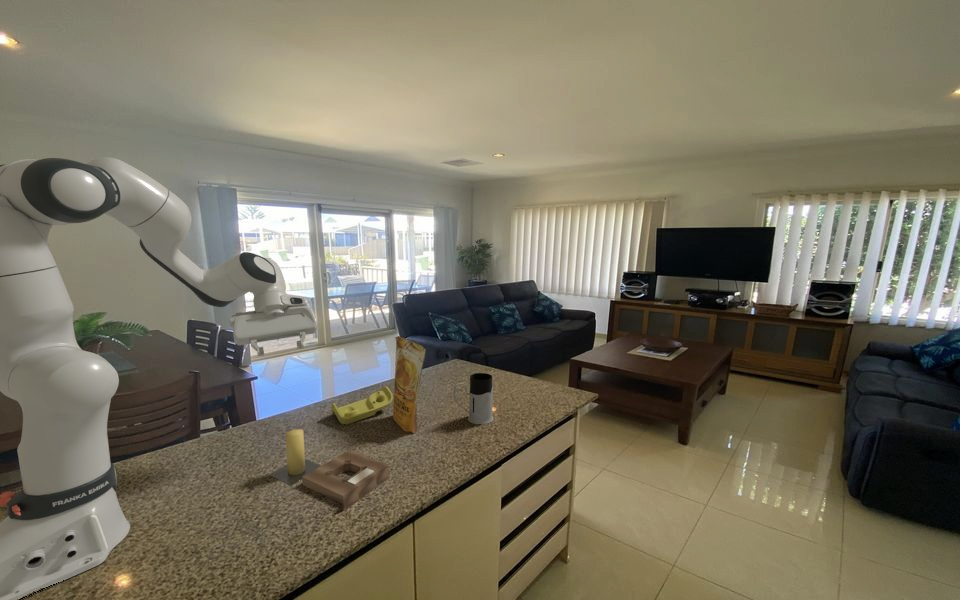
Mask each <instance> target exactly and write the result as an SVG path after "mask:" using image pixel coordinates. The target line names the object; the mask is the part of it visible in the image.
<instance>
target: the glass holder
mask: <svg viewBox="0 0 960 600" xmlns="http://www.w3.org/2000/svg"><path fill="white" fill-rule="evenodd" d="M460 385H462V386H464V390H465V391H464V393H465V394H466V395H468V396H469V399H468V400H469V403H468V404H469V407H468V409H469V410H468V409H466V408H464V406H462V405H461V404H460V403H459V401H458V400H457V397H456V390H457V387H458V386H460ZM493 387H494V386H493V375H491V374H489V373H485V372H477V373H472V374H470V376H469V390H468V389H467V385H466V384H465V383H463V382H459V383H457V384H455V386H454V388H453V397H454V400H455V402H456V404H457V405H458V407H460V408H461V409H462V410H464V411H465V412H467V413H468V417H467V420H468V422H469V423H471V424H473V425H478V424H484V425H488V423H489V424H491V423H493V422H494V416H493V391H494V390H493ZM467 390H468V391H469V393H468V391H467ZM490 422H491V423H490Z"/></svg>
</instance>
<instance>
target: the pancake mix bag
mask: <svg viewBox="0 0 960 600" xmlns="http://www.w3.org/2000/svg"><path fill="white" fill-rule="evenodd" d="M394 338H395V363H394V364H395V369H394V388H393V389H394V390H393V391H394V393H393V408H392V419H393V420H394V422H395V423H396V424H397V425H398V426H399V427H400V428H401V429H402V430H403V432H405V433H412V434H415V433H416V432H417V431H418V422H417V420H418V419H417V418H418V417H417V409H418V408H417V402H418V401H417V400H418V393H419V387H420V383H421V379H422V378H421V376H422V373H423V372H422V371H423V367H424V363H425V359H426V351H427V350H426V348H425V346H423V345H422V344H419V343H418V342H414V341H412V340H411V339H408V338H406V337H402V336H400V335H397V336H396V337H394Z"/></svg>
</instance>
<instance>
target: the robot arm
mask: <svg viewBox="0 0 960 600" xmlns="http://www.w3.org/2000/svg"><path fill="white" fill-rule="evenodd" d="M103 215H106V216H109V217H111V218H113V219H114V220H117V221H118V222H119V223H121V224H122V225H124V226H126V227H127V228H128V229H130V230H131V231H133V232H134V233H135V234H136V236H138V238H139V246H140V248H141V250H142V251H143V252H144V253H145V255H147V256H148V257H149V258H150V259H151V260H152V261H153V262H155V263H156V264H157V265H159V266H160V267H161V268H162V269H163V270H165V271H166V272H168V274H170V275H171V276H173V277H174V278H175V279H177V280H178V281H179V282H180V283H182V284H183V285H185V286H186V287H187V288H188V289H190V290H191V292H193V293H194V295H195V296H196V297H197V298H198V299H199V300H200V301H202V302H203V304H206V305H208V306H212V307H216V308H224V307H227V306H228V305H229V304H231V303H233V302H234V301H235V300H237V299H238V298H240V297H243V296H244V295H245V294H248V293H251V294H252V295H253V299H252V301H253V302H252V303H253V307H254V310H249V311H245V312H236V313H235V314H233V315H232V316H230V318H229V324H230V327H231V328H233V329H232V330H233V331H232V335H233V342H234V344H235V345H237V346H244V345H250V346H251V348H252V349H253V350H255V351H256V353H257V354H256V355H257V357H262V356H265V351H264V347H263V346H259V345H258V343H263V342H269V341H270V342H271V341H275V340H281V339H282V340H283V339H287V338H294V337H299V340H297V341H296V348H297V350H301V349H304V347H305V346H304V341H305V340H306V336H307V335H311V334H312V335H313V334H316V332H317V331H318V321H317V318H316V316H315V314H314V311H313V309H311V307H310V306H308V301H307V299H306V298H305V297H300V296H299V297H298V296H297V297H296V296H290V295H288V294H287V291H286V288H287V285H286V281H285V278H284V275H283V272H282V270H281V268H280V265H279V264H278V263H277V261H275V260H274V259H271V258H268V257H263V256H261V255H258V254H256V253H253V252H248V251H244V252H241V253H239V254H236V255H235V256H233V257H231V258H230V259H227V260H226V261H224V262H222V263H221V264H218V265H217V266H215V267H213V268H209V269H202V268H200V267H199V266H198V265H197V264H196V263H195V262H194V261H192V260H191V259H190V258H189V257H188V256H187V255H185V254H184V253H183V252H182V251H181V250H180V247H181V245H182V243H183V242H184V241H185V239H186V238H187V236H188V235H189V232H190V230H191V227H192V222H193V221H192V220H193V217H192V212H191V210H190V208H189V207H188V205H187V204H186V203H185V202H184V201H183V200H182V199H181V198H180V197H179V196H177V195H176V194H175V193H174V192H172V191H171V190H170V189H168V188H167V187H166V186H164V184H161V183H160V182H159V181H157V180H156V179H155V178H152V177H151V176H149V175H147V174H146V173H145V172H143V171H142V170H140V169H138V168H136V167H135V166H132V165H131V164H129V163H127V162H126V161H123V160H122V159H119V158H116V157H110V156H103V157H99V158H95V159H92V160H91V161H89V162H86V163H84V162H79V161H77V160H72V159H69V158H68V159H67V158H60V157H47V158H42V159H40V158H39V159H36V158H35V159H33V158H29V159H20V160H16V161H15V160H14V161H11V162H8V163H3V164H0V392H1V394H3V396H6V397H7V398H8V399H9V398H10V399H11V400H13V401H16V402H17V403H18V404H19V406H20V409H21V411H22V427H21V428H22V430H21V438H20V442H19V444H18V446H17V449H16V450H17V456H18V463H19V469H20V477H21V483H22V488H21V489H20V490H19V491H18V492H17V493H16V494H15V492H13V491H4V492H3V493H1V494H0V507H3V508H6V513H7V516H6V517H5V518H4V519H3V520H2V521H0V600H17V599H20V598H22V597H23V596H25V595H27V594H29V593H32V592H33V591H36V590H38V589H40V588H45V587H48V586H50V585H52V586H54V585H53V584H55V585H57V584H59V583H61V582H63V580H64V581H65V580H68V579H70V578H73V577H74V576H77V575H80V574H81V573H84V572H86V571H89V570H90V569H93V568H95V567H97V566H99V565H100V564H102V563H104V561H105V560H106V559H107V558H108V556H109V554H110V553H111V551H113V549H114V548H115V547H116V546H117V545H118V544H119V543H121V542H122V541H123V539H125V537H126V536H127V535H128V533H129V532H130V530H131V523H130V522H129V521H128V519H127V518H126V516H125V513H124V511H123V510H122V507H121V506H120V502H119V499H118V495H117V491H118V488H117V484H118V478H117V471H116V468H115V466H114V465H115V464H114V463H112V462H111V456H110V455H111V454H110V446H109V437H108V420H109V411H110V406H111V402H112V401H111V399H112V398H113V397H114V396H115V394H116V392H117V390H118V387H119V384H120V383H119V382H120V379H119V373H118V371H117V370H116V369H115V367H114V366H113V365H112V364H111V363H110V362H109V361H108V360H107V359H105V358H104V357H103V356H101V355H100V354H97V353H94V352H90V351H88V350H87V351H86V350H83V349H82V348H81V346H80V345H79V344H78V341H77V337H76V333H75V328H74V319H73V318H74V317H73V316H74V312H75V309H74V307H75V306H74V303H73V302H72V299H71V296H70V294H69V292H68V289H67V287H66V285H65V283H64V280H63V277H62V274H61V272H60V270H59V268H58V265H57V262H56V261H55V258H54V257H53V254H52V252H51V251H50V249H49V248H50V245H49V233H50V231H51V229H52V227H54V226H65V225H71V224H83V223H87V222H90V221H93V220H95V219H98V218H99V217H101V216H103ZM58 582H59V583H58ZM56 583H57V584H56ZM50 587H51V586H50ZM48 588H49V587H48ZM45 589H46V588H45Z"/></svg>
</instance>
